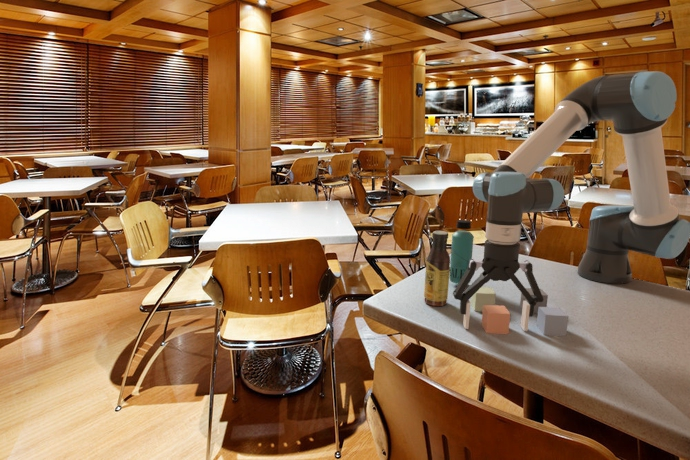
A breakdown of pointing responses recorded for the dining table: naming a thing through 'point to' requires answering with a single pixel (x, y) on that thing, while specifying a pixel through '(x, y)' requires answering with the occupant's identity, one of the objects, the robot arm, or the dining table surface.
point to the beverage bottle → (460, 251)
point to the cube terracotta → (495, 319)
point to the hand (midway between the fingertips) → (494, 327)
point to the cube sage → (483, 298)
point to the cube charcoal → (538, 304)
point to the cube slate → (552, 321)
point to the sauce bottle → (437, 271)
